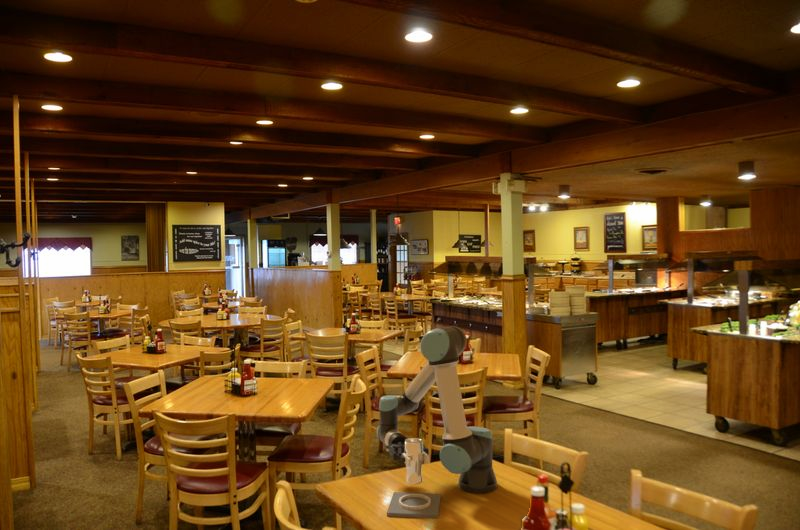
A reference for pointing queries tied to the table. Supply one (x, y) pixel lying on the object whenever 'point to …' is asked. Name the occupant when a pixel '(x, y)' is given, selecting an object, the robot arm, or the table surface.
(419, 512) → the coaster board
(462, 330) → the robot arm
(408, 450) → the beer glass
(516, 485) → the table surface
